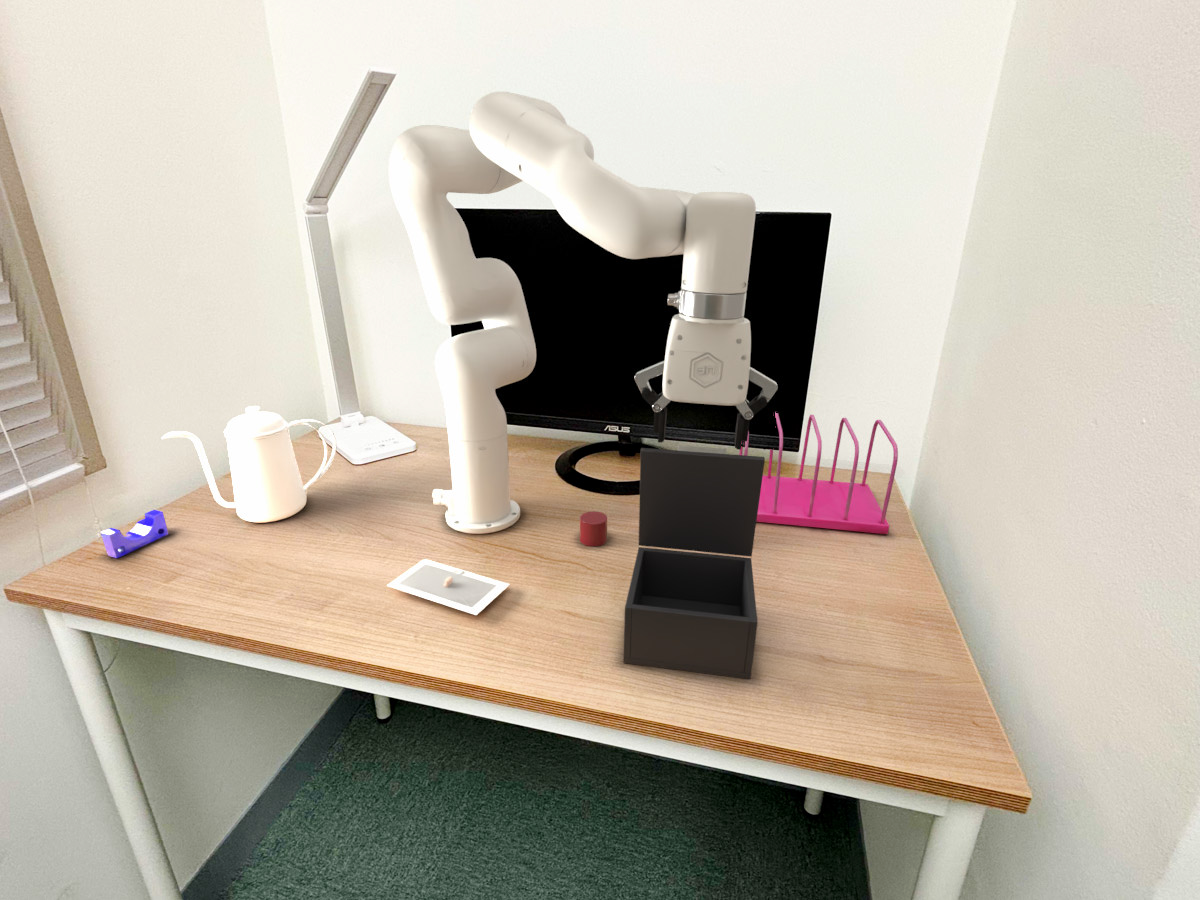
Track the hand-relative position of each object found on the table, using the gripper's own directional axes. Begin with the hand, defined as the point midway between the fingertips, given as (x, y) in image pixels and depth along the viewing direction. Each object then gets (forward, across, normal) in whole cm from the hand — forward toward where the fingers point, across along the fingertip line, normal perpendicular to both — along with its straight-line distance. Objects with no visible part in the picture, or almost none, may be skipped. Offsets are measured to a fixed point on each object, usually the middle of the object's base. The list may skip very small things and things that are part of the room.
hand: (699, 442), depth 79 cm
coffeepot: (+24, -72, +10) cm, 77 cm away
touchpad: (+23, -32, -7) cm, 40 cm away
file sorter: (+22, +20, +30) cm, 42 cm away
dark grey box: (+22, +1, -10) cm, 24 cm away
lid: (+7, 0, -5) cm, 8 cm away
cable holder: (+24, -85, -4) cm, 89 cm away
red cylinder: (+22, -15, +11) cm, 29 cm away
